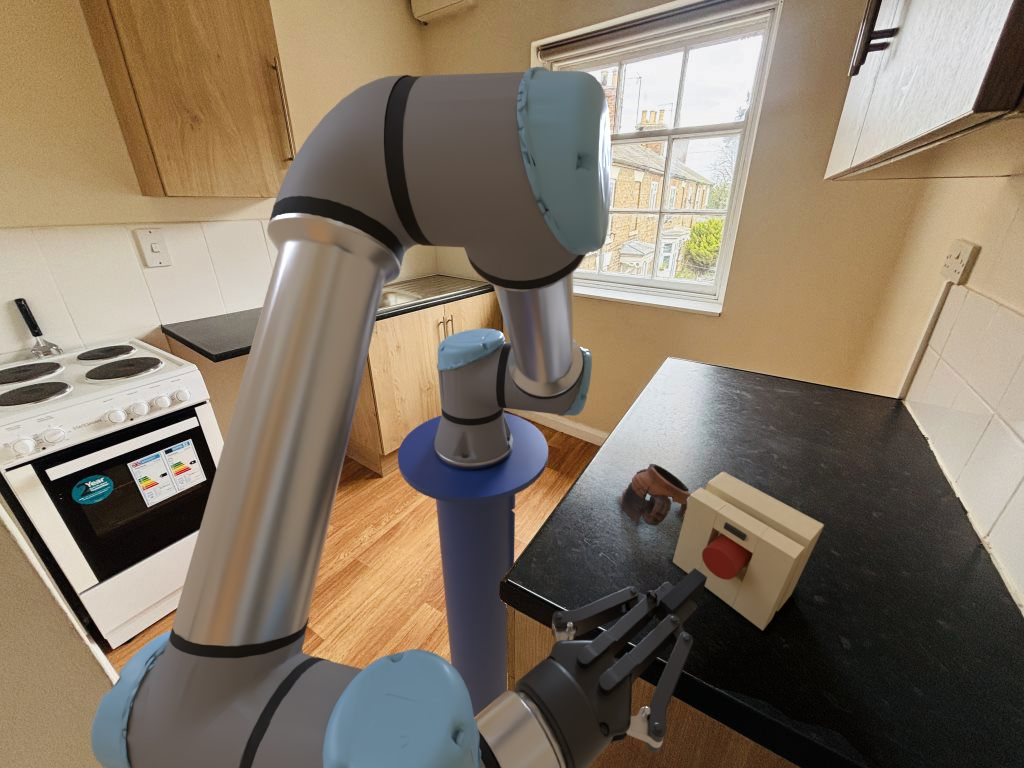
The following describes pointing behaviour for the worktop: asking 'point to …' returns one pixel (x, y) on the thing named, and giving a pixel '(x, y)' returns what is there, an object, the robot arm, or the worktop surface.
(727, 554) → the button
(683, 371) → the worktop surface
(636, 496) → the pottery mug
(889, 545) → the worktop surface
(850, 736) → the worktop surface
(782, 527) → the control block
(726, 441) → the worktop surface
